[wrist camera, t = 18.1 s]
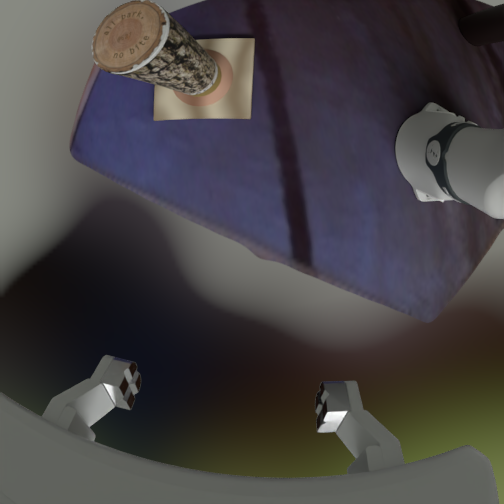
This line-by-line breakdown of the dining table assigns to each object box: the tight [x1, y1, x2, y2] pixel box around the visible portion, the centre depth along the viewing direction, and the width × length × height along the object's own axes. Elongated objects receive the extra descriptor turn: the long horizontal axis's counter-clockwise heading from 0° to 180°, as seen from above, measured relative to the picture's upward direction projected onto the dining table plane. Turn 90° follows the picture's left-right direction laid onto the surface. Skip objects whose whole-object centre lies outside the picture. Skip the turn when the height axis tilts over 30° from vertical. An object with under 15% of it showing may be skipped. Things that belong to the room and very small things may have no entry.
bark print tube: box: [92, 0, 222, 97], centre depth 26 cm, size 7×7×25 cm
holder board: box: [154, 38, 255, 121], centre depth 38 cm, size 16×14×2 cm
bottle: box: [459, 4, 504, 46], centre depth 18 cm, size 7×7×20 cm
